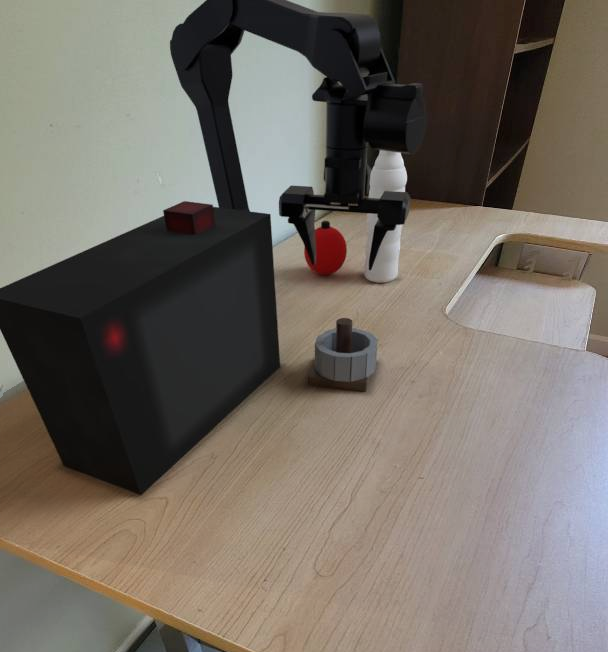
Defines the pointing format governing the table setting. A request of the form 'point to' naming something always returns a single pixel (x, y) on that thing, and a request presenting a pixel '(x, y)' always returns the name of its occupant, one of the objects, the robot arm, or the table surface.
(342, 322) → the stand
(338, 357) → the tape
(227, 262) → the speaker
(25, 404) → the table surface
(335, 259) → the ornament
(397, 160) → the water bottle
